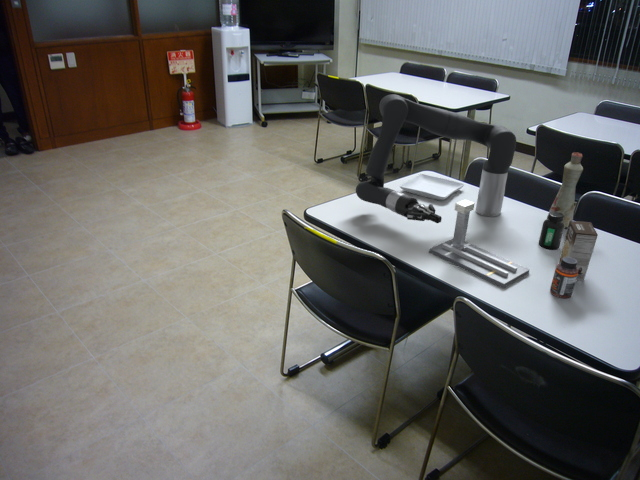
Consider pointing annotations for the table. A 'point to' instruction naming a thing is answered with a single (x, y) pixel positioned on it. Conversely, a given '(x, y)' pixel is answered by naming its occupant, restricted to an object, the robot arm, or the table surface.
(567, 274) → the supplement bottle
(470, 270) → the slider rail base
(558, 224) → the supplement bottle
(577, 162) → the bottle
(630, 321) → the table surface
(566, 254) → the coffee box
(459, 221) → the post
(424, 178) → the salad plate
